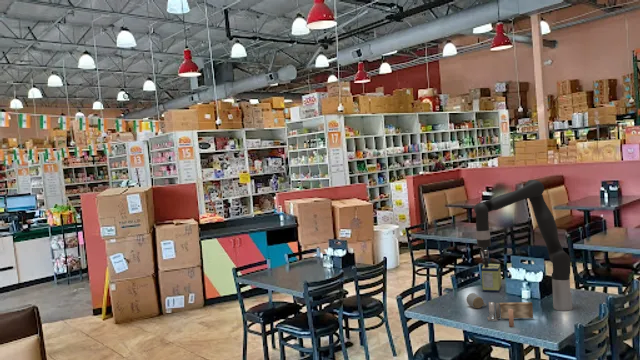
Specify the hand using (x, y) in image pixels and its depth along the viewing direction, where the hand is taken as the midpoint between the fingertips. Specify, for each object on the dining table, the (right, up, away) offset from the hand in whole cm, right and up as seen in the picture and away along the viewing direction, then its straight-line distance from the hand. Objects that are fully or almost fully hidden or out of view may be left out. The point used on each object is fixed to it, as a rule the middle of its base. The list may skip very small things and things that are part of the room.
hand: (485, 265), depth 304 cm
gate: (+10, -25, -17) cm, 32 cm away
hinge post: (-1, -27, -15) cm, 31 cm away
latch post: (+5, -27, -27) cm, 39 cm away
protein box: (+18, -23, +45) cm, 53 cm away
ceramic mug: (-2, -26, +10) cm, 28 cm away
